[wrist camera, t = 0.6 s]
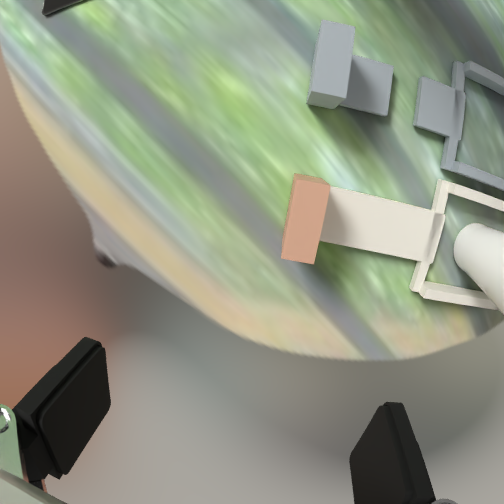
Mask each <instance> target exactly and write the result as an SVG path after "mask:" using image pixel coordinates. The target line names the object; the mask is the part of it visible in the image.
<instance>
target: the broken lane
mask: <svg viewBox="0 0 504 504" xmlns="http://www.w3.org/2000/svg"><path fill="white" fill-rule="evenodd" d="M354 35H355V27H354V26H350V25H345V24H341V23H336V22H332V21H327V20H322V22H321V26H320V29H319V33H318V37H317V41H316V45H315V52H314V58H313V65H312V71H311V78H310V84H309V90H308V97H307V103H306V104H310V105H315V106H320V107H324V108H329V109H335V108H336V107H337V106H338V105H340V106H344V107H348V108H352V109H356V110H360V111H364V112H368V113H372V114H376V115H379V116H383V117H385V116H387V114H388V107H389V100H390V92H391V84H392V75H393V66H392V65H389V64H385V63H382V62H378V61H375V60H371V59H368V58H364V57H360V56H356V55H352V51H353V43H354ZM465 77H467V78H469V79H471V80H473V81H475V82H478V83H480V84H482V85H484V86H486V87H488V88H490V89H492V90H493V91H495V92H497V93H499V94H501V95H503V96H504V78H503V77H501V76H499V75H497V74H496V73H494V72H492V71H490V70H488V69H486V68H484V67H482V66H480V65H478V64H476V63H474V62H472V61H468V62H466V63H462V62H460V61H455V62H453V69H452V83H451V87H450V86H448V85H445V84H443V83H440V82H438V81H435V80H432V79H430V78H427V77H424V76H422V77H420V78H419V81H418V91H417V99H416V107H415V115H414V122H413V126H416V127H419V128H422V129H425V130H428V131H431V132H434V133H436V134H439V135H442V136H445V143H444V149H443V155H442V161H441V166H440V168H442V169H445V170H448V171H451V172H454V173H457V174H459V175H462V176H465V177H468V178H470V179H473V180H476V181H478V182H481V183H484V184H486V185H489V186H491V187H494V188H496V189H499V190H501V191H504V179H502V178H500V177H497V176H495V175H492V174H490V173H488V172H485V171H483V170H480V169H478V168H475V167H473V166H470V165H467V164H465V163H462V162H458V161H455V157H456V151H457V145H458V141H461V135H462V127H463V119H464V110H465V100H466V93H464V81H465Z"/></svg>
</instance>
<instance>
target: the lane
mask: <svg viewBox="0 0 504 504" xmlns="http://www.w3.org/2000/svg"><path fill="white" fill-rule="evenodd" d="M448 193H452V194H455V195H458V196H461V197H464V198H467V199H470V200H473V201H476V202H479V203H481V204H484V205H487V206H490V207H493V208H495V209H498V210H501V211H503V212H504V201H502V200H499V199H497V198H494V197H492V196H489V195H486V194H484V193H481V192H478V191H475V190H473V189H470V188H467V187H464V186H461V185H458V184H455V183H451V182H448V181H445V180H441V179H438V182H437V186H436V191H435V196H434V200H433V204H432V209H431V210H428V209H425V208H421V207H417V206H413V205H410V204H406V203H402V202H398V201H394V200H390V199H386V198H382V197H378V196H373V195H369V194H365V193H361V192H356V191H352V190H347V189H343V188H338V187H333V186H330V185H329V184H328V183H327V182H325V181H324V180H323V179H322V178H317V177H312V176H307V175H302V174H296V173H294V179H293V184H292V190H291V195H290V200H289V206H288V211H287V217H286V222H285V227H284V232H283V240H282V254H281V258H282V259H288V260H293V261H298V262H304V263H309V264H314V261H315V257H316V253H317V248H318V244H319V241H323V242H328V243H333V244H339V245H344V246H349V247H354V248H359V249H364V250H369V251H374V252H379V253H384V254H388V255H393V256H398V257H403V258H408V259H412V260H417V264H416V267H415V270H414V273H413V276H412V280H411V283H410V286H409V288H410V289H411V290H412V291H414V292H419V293H420V295H421V296H422V297H423V298H426V299H432V300H438V301H444V302H450V303H456V304H462V305H468V306H475V307H481V308H487V309H494V310H499V309H498V308H497V307H496V306H495V304H494V303H493V302H492V301H491V300H490V299H489V297H488V296H487V295H486V294H485V293H484V292H481V291H476V290H471V289H465V288H460V287H455V286H450V285H445V284H439V283H434V282H429V281H424V280H425V277H426V274H427V271H428V268H429V265H430V263H431V264H432V263H433V260H434V257H435V253H436V250H437V247H438V243H439V240H440V236H441V232H442V229H443V225H444V221H445V217H446V215H444V211H445V206H446V202H447V198H448Z"/></svg>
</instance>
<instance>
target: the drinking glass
mask: <svg viewBox="0 0 504 504" xmlns="http://www.w3.org/2000/svg"><path fill="white" fill-rule="evenodd" d="M453 254H454V259H455V261H456V263H457V265H458V266H459V267H460V268H461V269H462V270H463V271H464V272H465V273H467V274H468V275H469V276H470V277H471V279H472V280H473V281H474V282H475V283H476V284H477V285H478V286H479V287H480V288H481V289H482V291H483V292H484V293H485V294H486V295H487V296H488V297H489V299H490V300H491V301H492V302H493V303H494V304H495V306H496V307H497V308H498V309H499V310H500V312H501V313H502V314H503V315H504V232H502V231H498V230H495V229H492V228H489V227H487V226H485V225H483V224H480V223H472V224H469V225H467V226H465V227H464V228H463V229H462V230H461V231H460V232H459V234H458V235H457V237H456V239H455V243H454V248H453Z"/></svg>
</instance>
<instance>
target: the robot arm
mask: <svg viewBox="0 0 504 504" xmlns="http://www.w3.org/2000/svg"><path fill="white" fill-rule="evenodd" d="M110 405H111V399H110V392H109V383H108V374H107V364H106V352H105V348H103V347H102V345H101V343H100V342H99V341H96V340H93V339H90V338H87V337H84V338H83V339H82V340H81V341H80V342H79V343H78V344H77V345H76V346H75V347H74V348H73V349H72V350H71V351H70V352H69V353H68V354H67V355H66V356H65V357H64V358H63V359H62V360H61V361H60V362H59V363H58V364H57V365H55V366H54V367H52V368H51V370H49V371H48V372H47V373H46V375H45V376H44V377H43V378H42V379H41V380H40V381H39V382H38V383H37V384H36V385H35V386H34V387H33V388H32V389H31V390H30V391H29V392H28V393H27V394H26V395H25V396H24V398H23V399H22V400H21V401H20V402H19V403H18V404H17V405H16V406H15V407H14V408H13V409H12V410H11V409H10V408H8V407H7V406H5V405H2V404H0V504H67V503H65V502H63V501H61V500H59V499H57V498H55V497H53V496H51V495H50V494H48V493H47V489H46V485H45V481H44V479H45V478H46V476H47V475H48V474H50V475H52V476H54V477H56V478H57V479H60V478H61V476H62V475H63V474H64V475H66V474H68V473H69V471H70V470H71V468H72V467H73V465H74V463H75V462H76V460H77V458H78V457H79V456H80V454H81V452H82V451H83V449H84V448H85V446H86V444H87V443H88V441H89V440H90V438H91V437H92V435H93V434H94V432H95V431H96V429H97V427H98V426H99V424H100V423H101V421H102V420H103V418H104V417H105V415H106V414H107V412H108V411H109V408H110ZM350 469H351V476H352V485H353V494H354V503H355V504H457V503H455V502H454V501H452V500H449V499H439V500H436V498H435V495H434V492H433V488H432V485H431V482H430V478H429V475H428V472H427V469H426V466H425V463H424V460H423V457H422V454H421V451H420V448H419V445H418V443H417V441H416V439H415V436H414V433H413V430H412V427H411V424H410V422H409V419H408V416H407V413H406V411H405V408H404V405H403V404H402V403H395V402H386V403H384V405H383V406H379V408H378V409H377V411H376V413H375V414H374V416H373V418H372V420H371V422H370V423H369V425H368V426H367V428H366V430H365V432H364V433H363V435H362V436H361V438H360V440H359V441H358V443H357V445H356V446H355V448H354V449H353V451H352V452H351V455H350Z"/></svg>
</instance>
